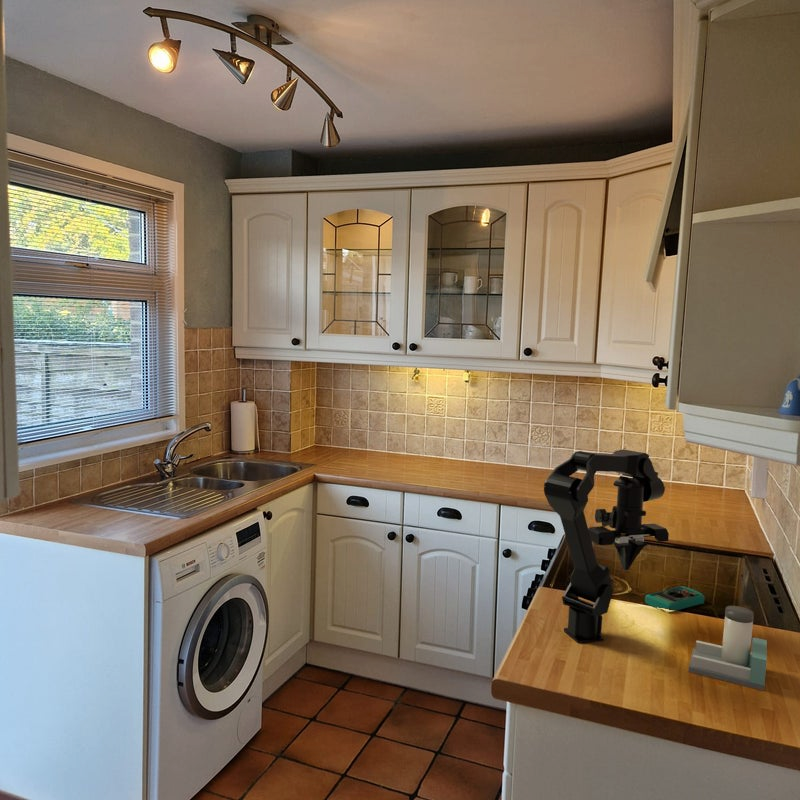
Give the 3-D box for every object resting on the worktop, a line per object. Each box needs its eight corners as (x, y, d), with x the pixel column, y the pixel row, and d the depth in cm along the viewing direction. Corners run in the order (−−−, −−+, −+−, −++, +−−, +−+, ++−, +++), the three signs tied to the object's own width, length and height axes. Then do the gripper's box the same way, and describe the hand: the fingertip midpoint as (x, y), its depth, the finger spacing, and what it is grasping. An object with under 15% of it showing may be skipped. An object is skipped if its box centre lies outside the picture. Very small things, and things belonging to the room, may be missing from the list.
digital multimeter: (706, 604, 171) (707, 593, 170) (668, 615, 163) (669, 603, 163) (680, 594, 177) (681, 583, 177) (643, 604, 169) (644, 593, 169)
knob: (720, 667, 133) (724, 612, 132) (721, 657, 138) (726, 603, 137) (748, 674, 131) (753, 618, 130) (749, 664, 135) (753, 609, 134)
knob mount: (688, 671, 134) (690, 642, 133) (693, 652, 143) (695, 624, 142) (764, 690, 128) (766, 660, 127) (764, 668, 136) (766, 640, 136)
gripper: (642, 494, 166) (638, 556, 168) (575, 497, 161) (571, 560, 162) (672, 506, 156) (667, 571, 157) (602, 509, 150) (597, 577, 152)
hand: (625, 569), depth 157 cm, fingers closed
